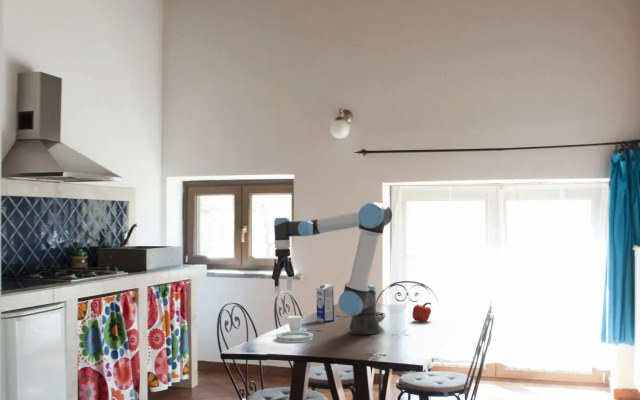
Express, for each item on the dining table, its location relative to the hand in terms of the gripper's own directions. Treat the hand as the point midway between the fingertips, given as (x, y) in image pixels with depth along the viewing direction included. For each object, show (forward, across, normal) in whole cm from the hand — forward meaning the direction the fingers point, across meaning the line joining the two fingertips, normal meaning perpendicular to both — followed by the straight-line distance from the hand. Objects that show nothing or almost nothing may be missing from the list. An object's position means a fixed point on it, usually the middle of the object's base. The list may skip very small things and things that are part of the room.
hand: (283, 291), depth 321 cm
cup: (+21, 0, +4) cm, 21 cm away
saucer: (+20, +14, +12) cm, 27 cm away
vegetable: (+22, -52, +56) cm, 79 cm away
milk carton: (+21, -37, +6) cm, 43 cm away
